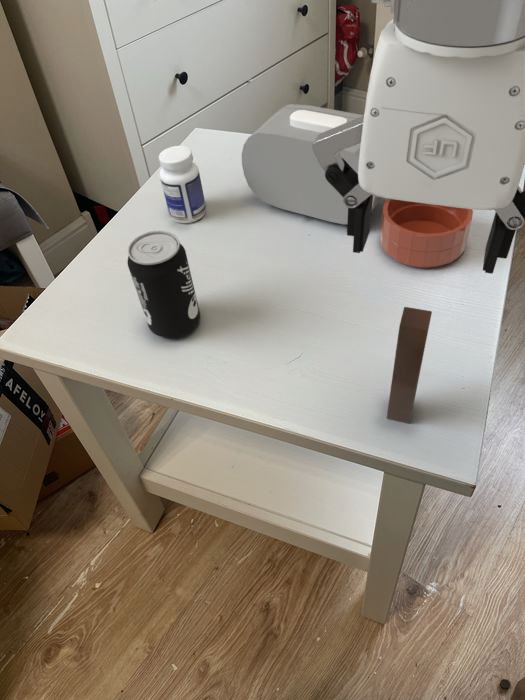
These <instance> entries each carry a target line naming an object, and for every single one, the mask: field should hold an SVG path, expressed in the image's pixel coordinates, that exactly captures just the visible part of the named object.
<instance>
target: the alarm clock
mask: <svg viewBox="0 0 525 700" xmlns="http://www.w3.org/2000/svg"><path fill="white" fill-rule="evenodd" d="M362 116H364V114H360V113H354V112H348V111H343V110H337V109H332V108H326V107H321V106H316V105H310V104H296V103H295V104H293V103H289V104H287V105H285V106H283V107H281V108H280V109H278V110H276V112H275V113H274V114H272V116H270V118H268V120H265V122H264V123H263V124H262V125H261V126H260V127H258V128H257V129H256V130H255V131H254V132H253V133H252V134H251V135H250V136H249V137H247V139H246V140H245V142H244V144H243V147H242V150H241V166H242V171H243V176H244V179H245V181H246V183H247V185H248V187H249V189H250V190H251V191H252V193H253V194H254V195H255V196H256V197H257V198H258V199H260V200H261V202H263V203H265V204H268V205H270V206H272V207H273V206H274V207H275V208H278V209H281V210H285V211H289V212H292V213H296V214H299V215H303V216H307V217H310V218H315V219H319V220H322V221H326V222H329V223H335V224H338V225H343V226H347V221H348V207H346V206H345V205H344V203H343V197H342V196H341V195H340V194H339V192H338V191H337V190H336V189H335V188H334V187H333V186H332V185H331V184H330V183H329V182H328V181H327V180H326V178H325V171H324V169H323V168H322V167H321V165H320V164H319V162H318V160H317V158H316V156H315V154H314V152H313V150H312V145H313V143H314V141H315V139H316V138H317V136H318V135H319V134H320V133H323V132H325V131H328V130H330V129H333V128H335V127H337V126H340V125H342V124H345V123H347V122H350V121H352V120H355V119H357V118H360V117H362ZM360 146H361V143H359V144H356V145H354V146H351V147H348V148H346V149H343V150H340V151H339V152H340V154H341V155H340V156H341V158H343V159H344V160H345V161H346V162H347V163H348V164H349V165H350V166H351V167H352V168H353V170H354V171H355V172H356V173H357V172H358V166H359V155H360ZM382 199H383V198H382V197H378V196H374V195H373V201H372V211H373V210H374V209H375V208H376V206H377V205H378V204H379V202H380V201H381V200H382Z"/></svg>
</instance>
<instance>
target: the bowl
mask: <svg viewBox="0 0 525 700" xmlns="http://www.w3.org/2000/svg"><path fill="white" fill-rule="evenodd" d="M473 214H474V209H466V208H457V207H449V206H441V205H433V204H425V203H417V202H410V201H402V200H395V199H388V198H385V201H384V203H383V206H382V211H381V223H380V235H379V241H380V245H381V248H382V250H384V252H385V253H386V254H387V255H388V256H389V257H391V258H392V259H393V260H395V261H396V262H398V263H399V264H400V263H401V265H405V266H408V267H414V268H420V269H430V268H438V267H442V266H445V265H447V264H449V263H450V264H451V263H452V262H453V261H456V260H457V259H459V257H461V255H462V254H463V253H464V252H465V250H466V247H467V242H468V237H469V233H470V229H471V224H472V219H473Z"/></svg>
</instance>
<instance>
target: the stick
mask: <svg viewBox="0 0 525 700" xmlns="http://www.w3.org/2000/svg"><path fill="white" fill-rule="evenodd" d="M432 313H433V311H432V310H426V309H420V308H414V307H409V306H404V307H403V309H402V314H401V318H400V321H399V327H398V334H397V342H396V347H395V348H396V349H395V355H394V361H393V362H394V363H393V370H392V375H391V376H392V377H391V384H390V390H389V398H388V405H387V411H386V412H387V413H386V419H387V420H390V421H391V420H392V421H395V422H401V423H404V424H405V423H406V424H410V423H411V420H412V414H413V410H414V405H415V400H416V395H417V390H418V385H419V380H420V374H421V370H422V365H423V360H424V354H425V350H426V344H427V339H428V335H429V329H430V324H431V319H432Z"/></svg>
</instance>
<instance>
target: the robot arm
mask: <svg viewBox="0 0 525 700" xmlns="http://www.w3.org/2000/svg"><path fill="white" fill-rule="evenodd" d="M371 4H382V5H384V8H390V13H391V14H393V18H392V19H391V20H390V21H388V23H386V25H385V26H384V28H382V30H381V32H380V34H379V37H378V41H377V45H376V48H375V52H374V56H373V59H372V60H373V61H372V65H371V70H370V75H369V80H368V86H367V91H366V93H367V94H366V99H365V105H364V113H363V115H364V116H362V117H360V118H357V119H355V120H352V121H350V122H347V123H345V124H342V125H340V126H337V127H335V128H333V129H330V130H328V131H325V132H323V133H320V134H319V135H318V136H317V138H316V139H315V141H314V143H313V145H312V150H313V152H314V154H315V156H316V158H317V160H318V162H319V164H320V165H321V167H322V168H323V169H324V171H325V178H326V180H327V181H328V182H329V183H330V184H331V185H332V186H333V187H334V188H335V189H336V190H337V191H338V192H339V194H340V195H341V196H342V197H343V203H344V205H345V206H346V207H348V221H347V224H346V235H347V236H349V237H353V240H352V241H353V243H352V253H356V254H360V253H363V252H364V250H365V246H366V244H367V240H368V238H369V235H370V232H371V223H372V212H373V210H372V201H373V195H374V196H378V197H382V198H381V199H383V198H384V199H387V198H388V199H395V200H402V201H410V202H417V203H425V204H433V205H441V206H449V207H457V208H466V209H472V210H477V211H495V213H494V216H493V220H492V223H491V227H490V231H489V234H488V238H487V242H486V245H485V250H484V257H483V265H482V271H484V273H486V274H491V275H493V273H494V271H495V267H496V264H497V261H498V258H499V259H506V260H507V258H508V256H509V253H510V250H511V246H512V243H513V240H514V238H515V234H516V231H517V230H519V229H521V228H522V227H524V224H525V190H522V189H521V188H520V181H521V179H522V176H523V172H524V168H525V0H371ZM359 143H361V146H360V155H359V166H358V172H357V173H356V172H355V171H354V170H353V168H352V167H351V166H350V165H349V164H348V163H347V162H346V161H345V160H344V159H343V158H341V156H340V155H341V154H340V152H339V151H340V150H343V149H346V148H348V147H351V146H354V145H356V144H359Z"/></svg>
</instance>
